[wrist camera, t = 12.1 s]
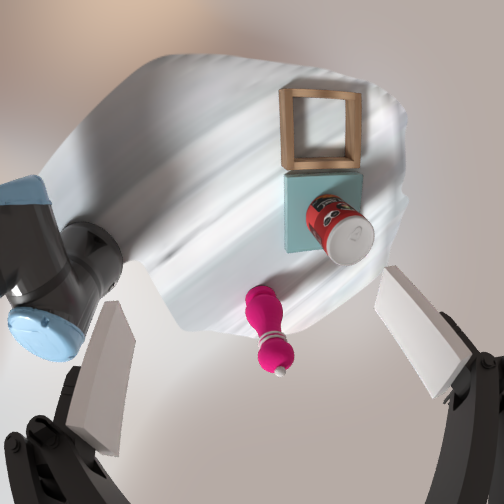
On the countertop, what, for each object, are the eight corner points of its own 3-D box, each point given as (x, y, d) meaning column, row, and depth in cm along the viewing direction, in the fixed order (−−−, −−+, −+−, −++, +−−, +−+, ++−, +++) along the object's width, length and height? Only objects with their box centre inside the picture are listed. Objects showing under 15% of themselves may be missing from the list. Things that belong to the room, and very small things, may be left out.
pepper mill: (235, 301, 57) (248, 381, 39) (258, 277, 55) (281, 356, 37) (261, 315, 60) (281, 392, 42) (284, 293, 57) (313, 369, 40)
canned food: (348, 194, 46) (380, 219, 37) (338, 235, 50) (366, 266, 41) (308, 190, 45) (335, 214, 35) (300, 233, 49) (322, 266, 39)
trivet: (284, 248, 52) (287, 253, 50) (284, 174, 45) (287, 177, 43) (351, 240, 53) (355, 244, 52) (357, 172, 46) (363, 174, 45)
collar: (281, 165, 44) (286, 170, 41) (278, 89, 38) (284, 88, 35) (350, 163, 46) (359, 168, 42) (351, 93, 39) (361, 93, 36)
